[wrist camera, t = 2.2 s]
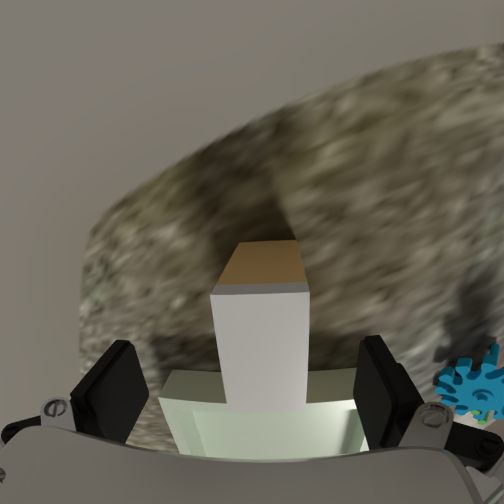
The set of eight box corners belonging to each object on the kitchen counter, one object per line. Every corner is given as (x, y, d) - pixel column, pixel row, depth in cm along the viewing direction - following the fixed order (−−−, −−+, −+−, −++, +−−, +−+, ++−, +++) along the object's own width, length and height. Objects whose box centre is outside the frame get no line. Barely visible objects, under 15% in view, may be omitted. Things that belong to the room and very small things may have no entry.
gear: (428, 364, 17) (545, 372, 9) (448, 308, 20) (547, 309, 12) (434, 422, 21) (515, 433, 13) (452, 376, 24) (527, 382, 16)
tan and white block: (296, 239, 18) (309, 292, 10) (297, 326, 19) (305, 411, 11) (239, 242, 18) (210, 294, 10) (246, 327, 19) (228, 411, 12)
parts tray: (377, 365, 19) (389, 394, 16) (345, 477, 24) (348, 500, 21) (172, 369, 21) (158, 397, 18) (208, 477, 26) (203, 500, 22)
